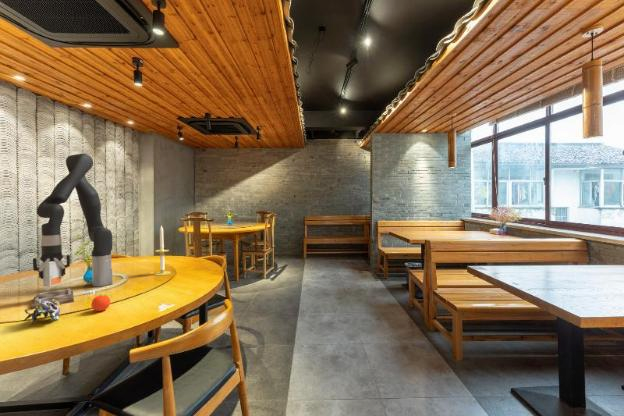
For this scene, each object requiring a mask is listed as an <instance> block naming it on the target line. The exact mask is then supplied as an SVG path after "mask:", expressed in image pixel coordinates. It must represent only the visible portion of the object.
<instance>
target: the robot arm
mask: <svg viewBox="0 0 624 416" xmlns="http://www.w3.org/2000/svg"><path fill="white" fill-rule="evenodd" d="M93 165H94V160H93V157H92V156H91V155H89V154H87V153H77V154H72V155H71V154H70V155H68V156H67V157H66V158H65V166H66V168H67V171H68V174H67V175H66V176H65V177H63V178H62V179H61V180H60V181H59V182H58V183H57V184H56V185H55V187H54V188H53V190H52V191H51V193H50V195H48V196H47V197H46V198H45V199H44V200H42V202H40V203H39V205H38V206H37V207H36V215H37V216H38V217H40V218H42V219H48V221H47V222H45V223H43V224H42V225H41V239H40V246H41V248H40V249H41V252H40V253H41V256H40V257H33V259H32V268H33V269H32V270H33V271H34V272H35V271H36V272H38V278H39V279H41V280H43V268H44V267H45V266H46V262H51V261H56V262H57V263H58V264H59V265H60V266H61V267H62V277H64V276H65V275H66V268H69V267H71V256H70V253H69V254H66V255H65V254H64V255H63V251H62V249H63V247H62V244H63V243H62V242H63V241H62V234H61V231H62V230H61V226H62V223H63V219H64V216H65V209H64V207H63V205H61V204H65V203H67V201H68V200H69V198H70V197H71V195H72V194H73V192H74V190H75V191H76V194H77V198H78V201H79V205H80V207H81V211H82V214H83V216H84V218H85V222H86V227H87V233H88V237H89V239H90V241H91V242H93V249H92V251H91V274H92V275H91V277H92V278H91V279H92V287H98V288H99V287H105V286H109V285H113V281H114V280H113V267H112V250H113V233H112V230H110V229H109V228H107V227H105V226H104V224H103V221H102V217H101V215H102V214H101V212H102V204H101V200H100V196H99V193H98V192H97V190H96V188H94V187H93V185H92V184H91V183H90V182H89V181H88V179H87V178H86V175H87V174H88V172H89V171H90V170H91V169H92V168H93ZM63 258H64V260H66V264H64V263H63V262H62V263H61V262H60V260H63ZM39 261H41V262H42V264H41V266H40V267H38V263H39ZM43 262H44V264H45V265H44V264H43Z"/></svg>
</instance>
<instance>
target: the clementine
mask: <svg viewBox="0 0 624 416" xmlns="http://www.w3.org/2000/svg"><path fill="white" fill-rule="evenodd" d="M109 296H111V298H113V297H112V295H111V294H109V295H108V294H100V295H97V296H95V297H94V298H93V299H92V301H91V308H92V309H93V310H94V311H96V312H103V311H105V310H107V309H108V308H109V307H110V305H111V298H110V297H109Z"/></svg>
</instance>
